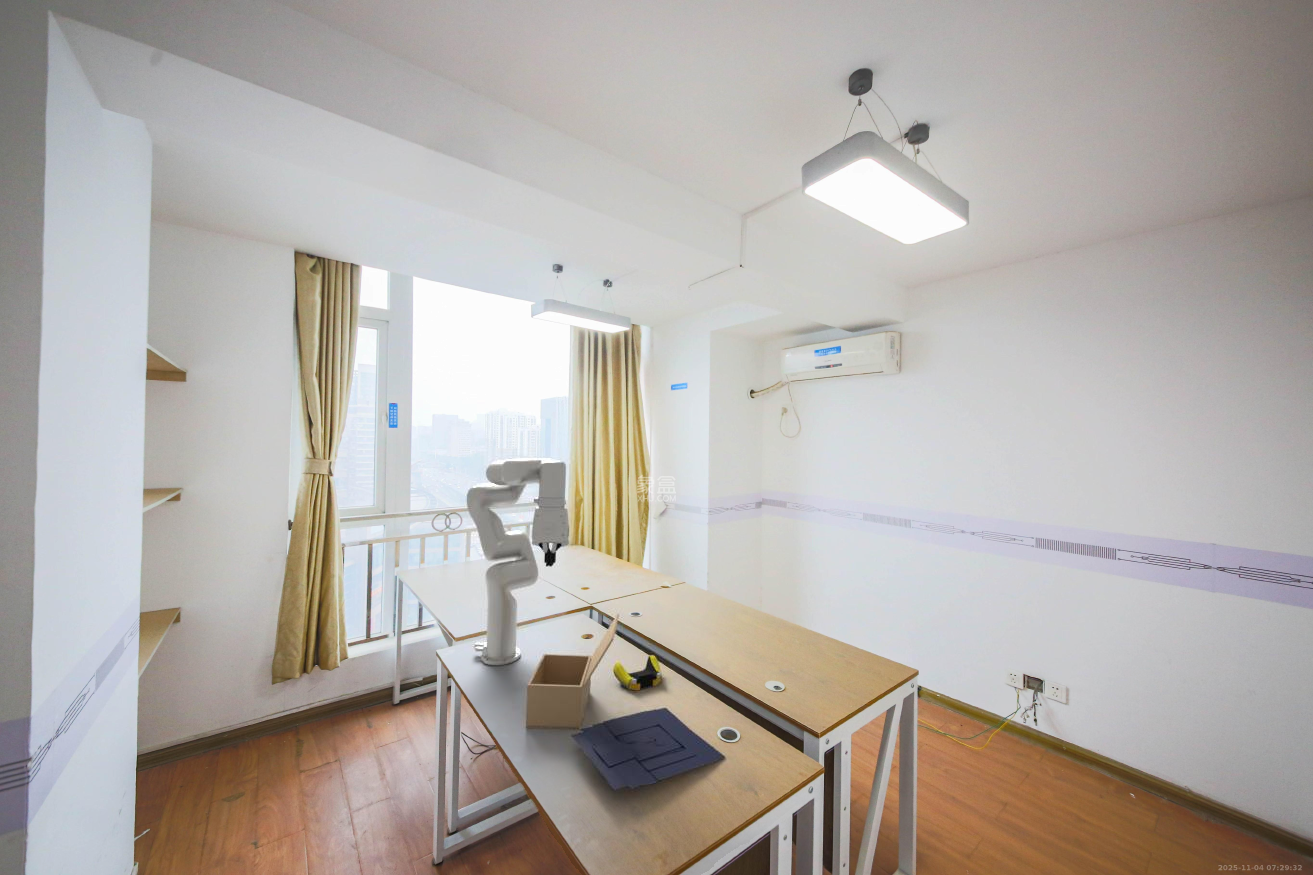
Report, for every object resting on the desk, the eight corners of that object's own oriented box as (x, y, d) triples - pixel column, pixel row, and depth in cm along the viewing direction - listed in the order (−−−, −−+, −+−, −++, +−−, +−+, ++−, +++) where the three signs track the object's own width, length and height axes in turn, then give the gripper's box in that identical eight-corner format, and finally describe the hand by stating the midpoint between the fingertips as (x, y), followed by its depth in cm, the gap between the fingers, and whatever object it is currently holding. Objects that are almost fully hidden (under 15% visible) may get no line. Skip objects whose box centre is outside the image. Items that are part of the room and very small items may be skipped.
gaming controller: (611, 679, 144) (624, 695, 135) (611, 661, 144) (624, 676, 135) (653, 669, 151) (668, 684, 142) (654, 652, 151) (669, 666, 142)
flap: (611, 638, 119) (613, 639, 119) (617, 613, 135) (619, 614, 135) (583, 684, 119) (585, 686, 119) (592, 654, 136) (594, 655, 136)
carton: (525, 727, 119) (527, 684, 119) (542, 691, 136) (543, 653, 136) (580, 729, 119) (581, 686, 119) (590, 692, 136) (591, 655, 136)
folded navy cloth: (565, 742, 112) (567, 726, 112) (663, 717, 129) (665, 703, 130) (617, 810, 92) (619, 790, 92) (725, 769, 110) (726, 753, 110)
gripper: (522, 503, 132) (520, 568, 132) (575, 505, 132) (573, 569, 132) (529, 500, 139) (528, 561, 139) (579, 501, 139) (577, 562, 139)
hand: (549, 565), depth 136 cm, fingers closed
